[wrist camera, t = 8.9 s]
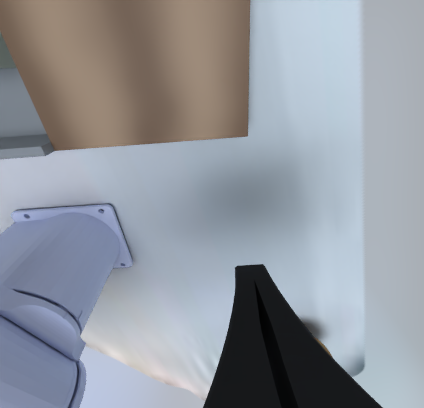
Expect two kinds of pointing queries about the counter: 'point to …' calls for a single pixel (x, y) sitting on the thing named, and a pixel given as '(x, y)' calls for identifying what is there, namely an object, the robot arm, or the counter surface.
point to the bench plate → (132, 68)
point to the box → (19, 120)
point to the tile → (5, 55)
